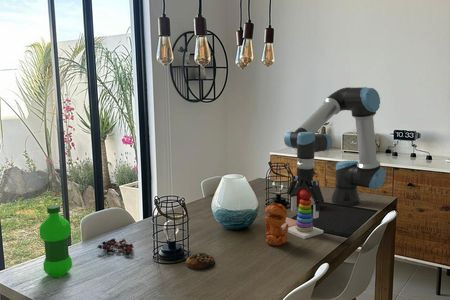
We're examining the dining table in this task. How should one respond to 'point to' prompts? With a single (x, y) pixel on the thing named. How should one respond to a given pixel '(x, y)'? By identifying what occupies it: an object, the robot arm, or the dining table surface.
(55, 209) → the plastic bottle
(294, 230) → the cream tile
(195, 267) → the bread roll
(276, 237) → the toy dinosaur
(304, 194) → the stacking toy
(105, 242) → the grape bunch
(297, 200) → the plastic cup
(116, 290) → the dining table surface
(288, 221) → the terracotta tile
